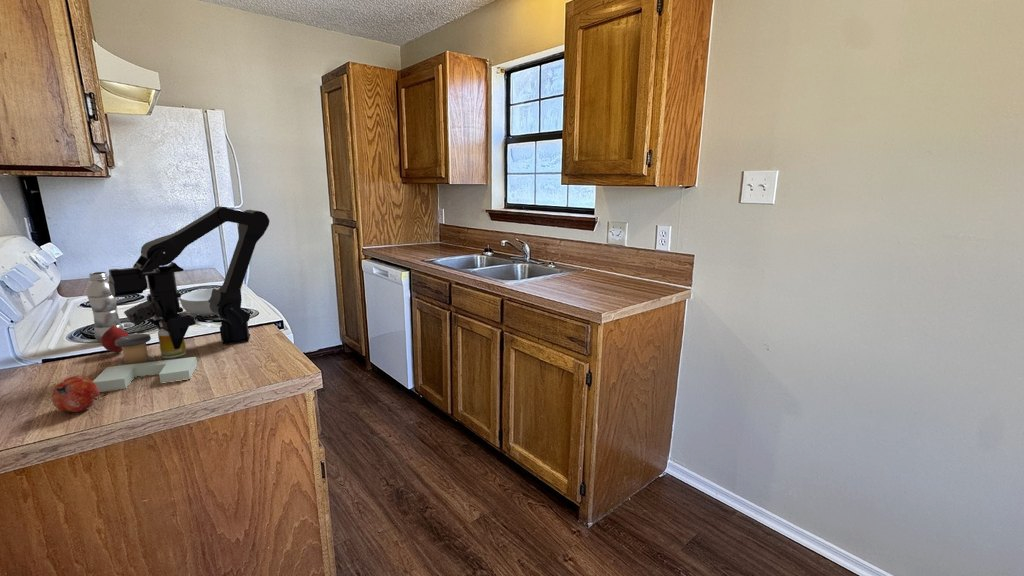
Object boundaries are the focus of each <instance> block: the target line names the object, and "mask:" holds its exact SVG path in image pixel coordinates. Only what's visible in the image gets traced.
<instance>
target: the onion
mask: <svg viewBox="0 0 1024 576" xmlns="http://www.w3.org/2000/svg"><path fill="white" fill-rule="evenodd" d="M129 335H130V334H129V333H128V332H127V331H126V330H122V329H120V328H117V325H112V326H111V328H110V329H109V330H107V331H106V332H105V333H104V334H103V336H102V339H101V342H100V343H101V345H102V347H103V348H104V349H105V350H107V351H109V352H112V353H116V354H120V353H123V351H122V347H120V346H116V345H115V340H117V339H119V338H121V337H124V336H129Z"/></svg>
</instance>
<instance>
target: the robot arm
mask: <svg viewBox="0 0 1024 576" xmlns="http://www.w3.org/2000/svg"><path fill="white" fill-rule="evenodd" d="M225 223H234V224H237V226H238V227H237V229H238V230H237V232H238V239H237V243H236V245H235V248H234V250H233V254H232V258H231V260H230V263H229V266H228V269H227V271H226V275H225V278H224V280H223V283H222V285H221V286H220V287H218V288H219V289H218V290H216V289H213V290H212V295H211V298H210V299H209V300H208V302H209V303H210V309H211V311H212V312H213V313H214V314H216V316H218V317H219V319H221V322H220V323H221V325H220V326H219V333H220V339H221V340H220V341H221V342H222V345H230V344H238V343H239V344H240V343H241V344H242V343H248V342H249V340H250V337H251V333H250V329H249V323H248V322H249V321H250V317H251V314H250V313H249V312H247V311H246V310H244V309H242V308H241V306H242V287H243V284H244V280H245V278H246V274H247V272H248V269H249V266H250V263H251V259H252V257H253V253H254V250H255V248H256V244H257V243H258V242H259V241H260V239H261V238H262V237H263V236H264V234H265V233H266V231H267V229H268V227H269V225H270V218H269V217H268V215H267V214H266V213H265V212H263V211H260V210H254V209H245V210H244V211H243V210H237V209H233V208H232V209H231V208H229V207H226V206H221V205H220V206H219V205H218V206H215V207H213V209H212V210H210V211H209V212H207V213H205V214H203V215H202V216H200V217H198V218H197V219H195V220H193V221H192V222H191V223H188V224H187V225H185V226H184V227H182V228H180V229H178V230H177V231H175V232H172V233H171V234H167V235H164V236H163V235H162V236H161V237H158V238H155V239H153V240H150V241H147V242H145V243H144V244H143V245H142V246H141V247H140V248H141V249H140V256H139V257H138V259H137V260H136V262H135V263H134V264H133V266H132V267H128V268H127V267H126V268H110V269H109V270H108V273H109V275H108V280H107V281H108V283H109V288H110V291H111V294H112V296H113V297H116V298H117V297H118V298H119V297H126V296H132V295H138V294H139V295H140V294H143V293H144V291H146V289H149V293H148V294H147V295H146V301H143V302H141V303H139V304H136V305H134V306H132V307H130V308H128V309H126V310H125V311H123V314H124V315H125V317H126V318H127V320H129V321H130V323H131V324H133V325H134V326H137V325H141V324H143V322H145V321H147V322H149V323H151V324H153V325H155V326H156V327H157V330H158V331H159V330H160V329H161V328H162V329H164V330H166V331H167V332H168V333H169V336H170V339H171V341H172V344H173V347H174V349H179V348H180V346H181V344H182V341H183V339H184V340H185V336H186V333H187V331H188V329H189V327H193V326H195V325H196V317H194V316H193V315H191V314H190V313H187V312H185V311H184V308H183V307H182V306H180V297H181V295H182V294H181V292H179V291H178V287H177V280H176V273H180V272H183V271H185V269H184V268H182V267H180V266H179V265H178V264H177V263H176V262H174V260H176V258H178V257H179V256H180V255H181V254H182V253H183V251H184V250H185V249H186V248H187V247H188V246H189V245H191V244H193V243H194V242H196V241H198V239H200V238H202V237H204V236H206V235H207V234H209V233H210V232H212V231H213V230H215V229H216V228H218V227H220V226H222V225H223V224H225ZM160 321H162V325H163V327H160V324H159V322H160Z"/></svg>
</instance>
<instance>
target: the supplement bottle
mask: <svg viewBox="0 0 1024 576" xmlns="http://www.w3.org/2000/svg"><path fill="white" fill-rule="evenodd" d="M159 324H160V327H163V325H162V321H160V322H159ZM157 336H158V343H159V348H160V354H161V357H162V358H164V359H177V358H178V357H179V358H180V357H183V356H184V355H186V354H187V349H186V343H185V338H184V339H183V341H182V344H181V346H180V348H179V349H174V347H173V344H172V341H171V339H170V336H169V333H168V332H167V331H166V330H164V329H162V328H161V329H160V330H159V329H158V331H157Z"/></svg>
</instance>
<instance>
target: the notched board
mask: <svg viewBox="0 0 1024 576" xmlns="http://www.w3.org/2000/svg"><path fill="white" fill-rule="evenodd" d="M197 361H198V360H197V357H196V356H191V357H184V358H183V357H182V358H172V359H165V360H158V361H155V362H147V363H139V364H130V365H122V366H120V365H117V366H115V365H113V366H107V367H105V368H104V370H103V371H101V373H100V374H99V375H98V376H96V378H94V380H92V381H93V382H94V383H95V384H96V386H97V387H98V390H99V393H105V392H111V391H118V390H119V389H120V390H125V388H126V389H128V387H129V386H128V385H130V384H131V383H132V382H133V381H134V379H135V378H138V377H137V376H141V377H146V376H145V375H149V376H153V375H152V374H157V375H159V381H160V384H161V383H163V382H170V381H176V380H183V379H190V377H191V376H192V377H193V375H194V374H193V372H194V370H195V369H197V368H198V362H197ZM196 367H197V368H196ZM195 371H196V370H195ZM194 373H195V372H194ZM192 374H193V375H192ZM134 377H135V378H134ZM192 377H191V378H192ZM132 380H133V381H132ZM190 380H191V379H190ZM131 381H132V382H131ZM127 386H128V387H127Z"/></svg>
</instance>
